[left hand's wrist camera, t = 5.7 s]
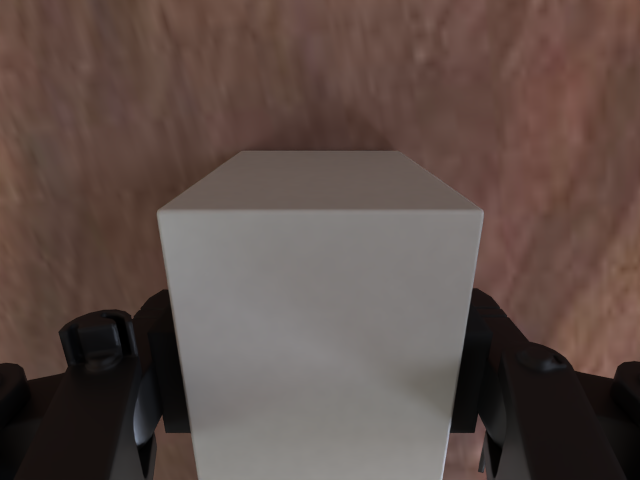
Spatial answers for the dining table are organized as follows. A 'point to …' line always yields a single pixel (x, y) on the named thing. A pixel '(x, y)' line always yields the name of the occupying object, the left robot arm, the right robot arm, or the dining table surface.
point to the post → (320, 314)
